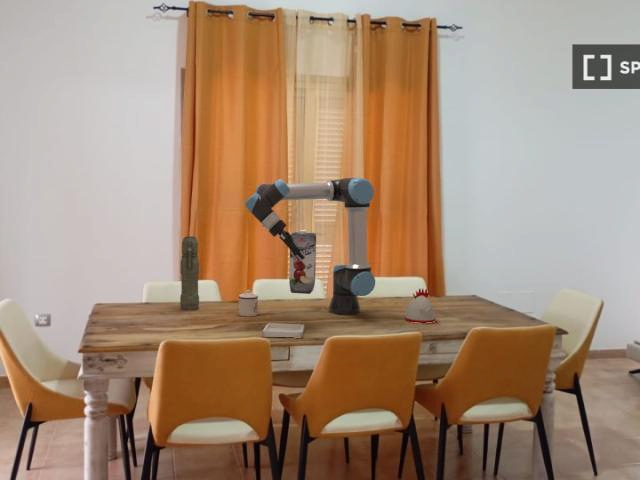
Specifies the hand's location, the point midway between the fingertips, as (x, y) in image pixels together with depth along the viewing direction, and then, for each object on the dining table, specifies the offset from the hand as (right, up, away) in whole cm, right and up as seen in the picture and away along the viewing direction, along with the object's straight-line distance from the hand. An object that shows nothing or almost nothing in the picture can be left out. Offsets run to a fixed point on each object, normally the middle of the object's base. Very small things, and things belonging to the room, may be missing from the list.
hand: (310, 262), depth 264 cm
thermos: (-59, -24, +35) cm, 73 cm away
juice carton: (-4, -13, +1) cm, 13 cm away
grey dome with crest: (+50, -28, +19) cm, 60 cm away
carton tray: (-11, -29, -11) cm, 33 cm away
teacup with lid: (-30, -25, +26) cm, 46 cm away
